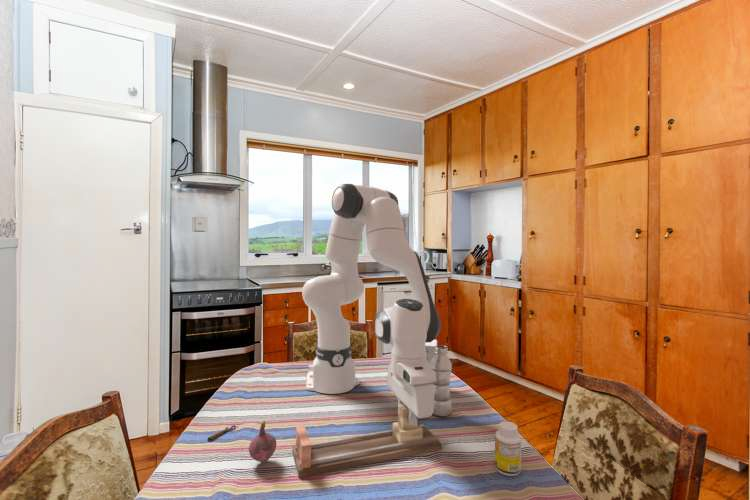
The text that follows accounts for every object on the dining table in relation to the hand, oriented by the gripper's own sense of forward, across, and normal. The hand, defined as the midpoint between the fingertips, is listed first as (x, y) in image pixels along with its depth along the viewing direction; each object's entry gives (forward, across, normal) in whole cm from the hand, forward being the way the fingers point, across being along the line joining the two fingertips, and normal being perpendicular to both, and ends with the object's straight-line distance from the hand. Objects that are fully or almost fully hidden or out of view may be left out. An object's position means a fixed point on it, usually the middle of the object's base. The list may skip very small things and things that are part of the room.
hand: (407, 419), depth 97 cm
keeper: (+5, 0, 0) cm, 5 cm away
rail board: (+6, 0, -10) cm, 12 cm away
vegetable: (+6, -3, -35) cm, 36 cm away
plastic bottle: (+6, -12, +16) cm, 21 cm away
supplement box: (+6, -29, +19) cm, 35 cm away
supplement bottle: (+6, +17, +17) cm, 25 cm away
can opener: (+7, -20, -44) cm, 49 cm away
